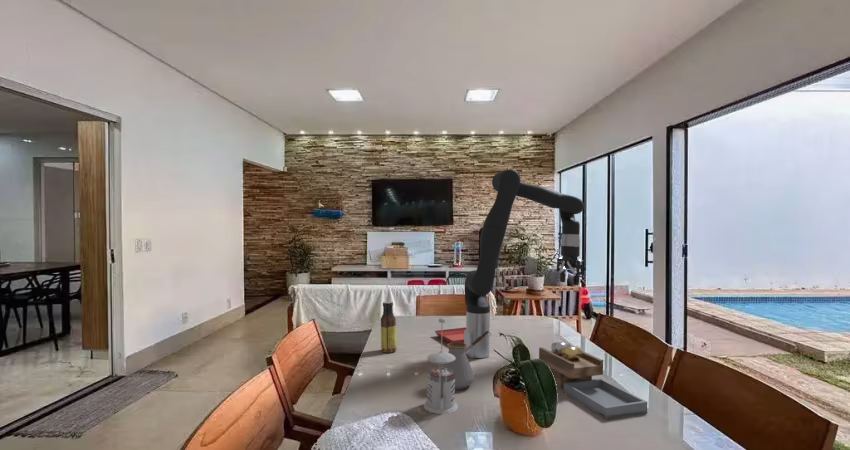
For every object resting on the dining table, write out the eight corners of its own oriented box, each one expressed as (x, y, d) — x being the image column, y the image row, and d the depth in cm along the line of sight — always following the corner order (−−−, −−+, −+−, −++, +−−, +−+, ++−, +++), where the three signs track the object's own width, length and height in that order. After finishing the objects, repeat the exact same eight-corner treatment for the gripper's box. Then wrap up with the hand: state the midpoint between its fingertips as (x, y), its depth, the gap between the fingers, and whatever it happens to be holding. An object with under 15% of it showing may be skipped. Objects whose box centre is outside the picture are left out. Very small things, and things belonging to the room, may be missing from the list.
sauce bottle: (397, 349, 168) (398, 300, 168) (395, 353, 162) (395, 303, 162) (382, 348, 169) (382, 300, 169) (378, 353, 163) (379, 303, 163)
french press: (456, 398, 121) (457, 314, 121) (460, 417, 109) (462, 323, 109) (422, 398, 121) (424, 314, 121) (424, 417, 109) (425, 323, 109)
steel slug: (558, 356, 136) (558, 344, 136) (551, 353, 140) (551, 341, 140) (571, 355, 138) (571, 343, 138) (563, 351, 142) (563, 340, 142)
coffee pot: (455, 395, 124) (456, 345, 124) (431, 383, 132) (431, 337, 132) (501, 378, 137) (502, 334, 137) (476, 369, 146) (477, 327, 146)
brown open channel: (570, 394, 125) (571, 363, 125) (538, 375, 141) (539, 347, 141) (602, 390, 128) (603, 360, 128) (568, 371, 144) (568, 345, 144)
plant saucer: (433, 337, 188) (433, 330, 188) (467, 333, 196) (467, 326, 196) (452, 348, 172) (452, 340, 172) (488, 343, 179) (488, 336, 179)
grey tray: (606, 419, 109) (606, 408, 109) (563, 392, 126) (563, 383, 126) (647, 412, 113) (647, 401, 113) (600, 387, 131) (600, 378, 131)
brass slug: (569, 360, 131) (567, 347, 132) (562, 360, 134) (560, 347, 135) (582, 358, 132) (580, 345, 133) (575, 358, 136) (572, 346, 137)
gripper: (552, 244, 178) (551, 281, 178) (574, 245, 164) (572, 286, 164) (566, 244, 180) (565, 281, 180) (589, 246, 167) (588, 285, 166)
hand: (569, 283), depth 172 cm, fingers open, 8 cm apart
